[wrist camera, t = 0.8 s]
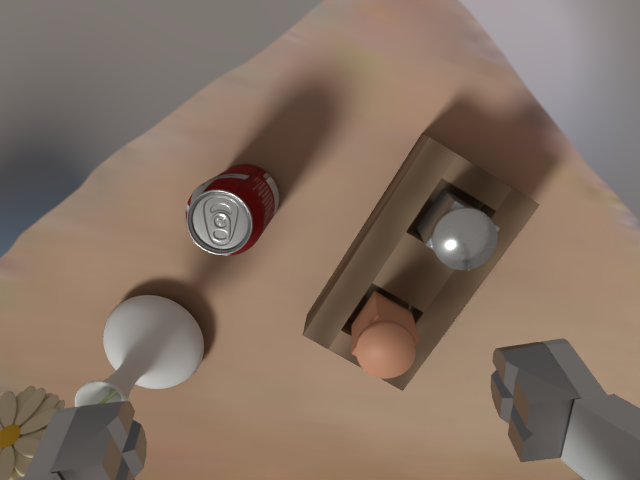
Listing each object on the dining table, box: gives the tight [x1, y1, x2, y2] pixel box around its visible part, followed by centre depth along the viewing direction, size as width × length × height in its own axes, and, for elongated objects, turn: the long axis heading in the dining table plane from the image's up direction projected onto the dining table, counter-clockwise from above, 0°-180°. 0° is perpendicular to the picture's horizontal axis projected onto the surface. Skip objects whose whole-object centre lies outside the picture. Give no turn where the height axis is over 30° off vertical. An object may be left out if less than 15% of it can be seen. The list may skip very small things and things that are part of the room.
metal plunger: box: [417, 189, 500, 271], centre depth 44 cm, size 5×5×7 cm
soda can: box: [186, 164, 279, 255], centre depth 47 cm, size 7×7×12 cm
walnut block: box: [303, 133, 540, 391], centre depth 51 cm, size 12×23×5 cm, turn 150°
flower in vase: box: [0, 295, 204, 480], centre depth 46 cm, size 13×11×25 cm
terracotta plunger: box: [351, 291, 419, 378], centre depth 47 cm, size 5×5×7 cm
